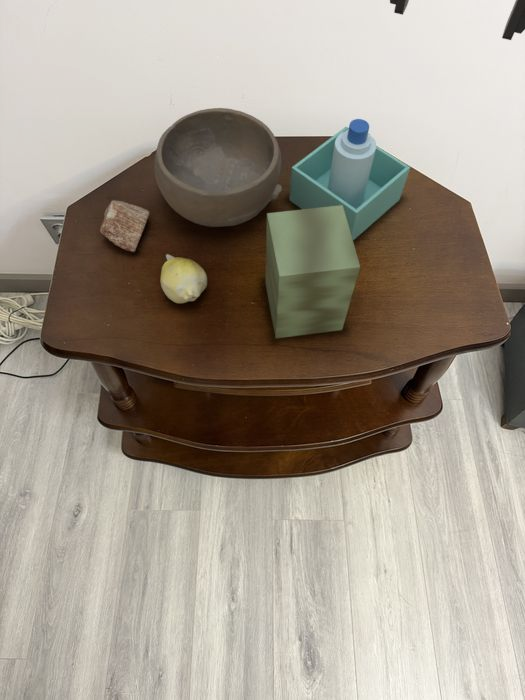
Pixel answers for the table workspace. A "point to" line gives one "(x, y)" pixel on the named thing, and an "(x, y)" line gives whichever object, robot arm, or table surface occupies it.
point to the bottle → (352, 163)
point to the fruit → (182, 279)
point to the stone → (124, 224)
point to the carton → (314, 193)
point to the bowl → (218, 167)
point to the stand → (309, 270)
